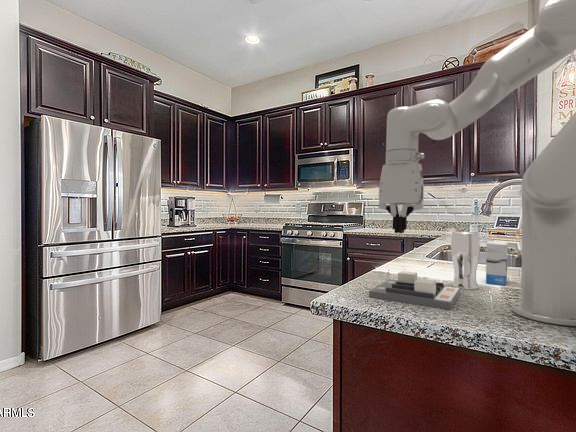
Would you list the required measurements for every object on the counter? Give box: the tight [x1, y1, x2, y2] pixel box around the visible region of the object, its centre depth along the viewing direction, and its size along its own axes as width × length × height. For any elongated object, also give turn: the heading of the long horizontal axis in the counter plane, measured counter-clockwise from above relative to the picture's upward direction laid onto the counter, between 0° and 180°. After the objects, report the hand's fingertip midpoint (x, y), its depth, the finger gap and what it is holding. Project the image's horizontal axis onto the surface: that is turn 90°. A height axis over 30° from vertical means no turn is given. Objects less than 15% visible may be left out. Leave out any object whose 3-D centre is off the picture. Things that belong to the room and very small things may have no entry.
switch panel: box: [368, 278, 462, 311], centre depth 80 cm, size 18×16×2 cm
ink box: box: [485, 240, 509, 286], centre depth 94 cm, size 8×5×12 cm, turn 143°
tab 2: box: [414, 278, 437, 295], centre depth 75 cm, size 4×4×3 cm
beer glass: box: [450, 231, 481, 290], centre depth 88 cm, size 7×7×15 cm
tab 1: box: [397, 270, 418, 283], centre depth 85 cm, size 4×4×3 cm
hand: (399, 232), depth 80 cm, fingers closed
